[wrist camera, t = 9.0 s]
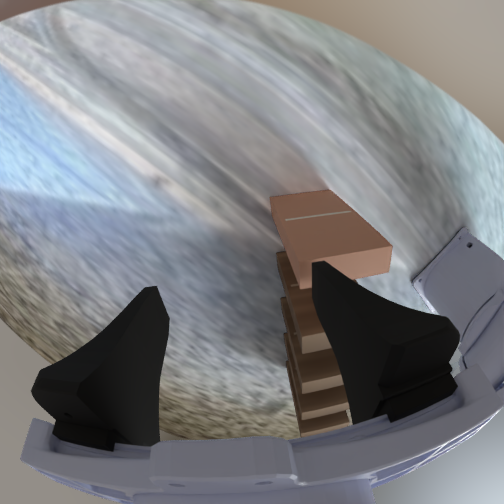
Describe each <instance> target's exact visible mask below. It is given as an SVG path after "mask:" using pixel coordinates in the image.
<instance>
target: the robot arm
mask: <svg viewBox="0 0 504 504" xmlns="http://www.w3.org/2000/svg"><path fill="white" fill-rule="evenodd" d="M412 285H413V286H414V288H415V289H416V290H417V292H418V293H419V295H420V296H421V298H422V299H423V301H424V302H425V303H426V305H427V306H428V308H429V309H430V311H431V312H432V313H433V312H435V311H437V312H438V314H439V315H435V314H430V313H425V312H421V311H418V310H414V309H411V308H408V307H405V306H402V305H399V304H397V303H394V302H392V301H389V300H387V299H385V298H383V297H381V296H379V295H377V294H375V293H373V292H371V291H369V290H367V289H366V288H364V287H362V286H361V285H359V284H358V283H356V282H354V281H353V280H351V279H350V278H348V277H347V276H346V275H344V274H343V273H341V272H340V271H339V270H337V269H336V268H334V267H333V266H332V265H330V264H329V263H327V262H326V261H318V262H312V300H313V303H314V307H315V310H316V313H317V316H318V318H319V321H320V323H321V325H322V327H323V329H324V332H325V334H326V336H327V338H328V340H329V343H330V345H331V347H332V349H333V352H334V354H335V357H336V360H337V363H338V366H339V369H340V373H341V376H342V380H343V384H344V387H345V391H346V395H347V399H348V404H349V408H350V412H351V417H352V423H353V425H351V426H347V427H344V428H340V429H336V430H333V431H329V432H325V433H320V434H316V435H311V436H307V437H302V438H296V439H291V440H285V439H283V438H279V437H272V436H260V437H245V438H234V439H219V440H189V441H188V440H170V441H160V436H159V435H160V434H159V386H160V376H161V371H162V366H163V361H164V356H165V351H166V346H167V341H168V335H169V320H170V318H169V316H168V313H167V311H166V308H165V306H164V303H163V301H162V298H161V296H160V293H159V291H158V288H157V286H152V287H145V288H144V289H143V290H142V291H141V292H140V293H139V294H138V295H137V296H136V297H135V298H134V299H133V300H132V301H131V302H130V303H129V304H128V305H127V306H126V308H125V309H124V310H123V311H122V312H121V313H120V314H119V315H118V316H117V317H116V318H115V319H114V320H113V321H112V322H111V323H110V324H109V325H108V326H107V327H106V328H105V329H104V330H103V331H101V332H100V333H99V334H98V335H97V336H96V337H94V338H93V339H92V340H91V341H89V342H88V343H86V344H85V345H84V346H82V347H81V348H80V349H78V350H77V351H75V352H74V353H72V354H70V355H69V356H67V357H65V358H64V359H62V360H60V361H58V362H56V363H54V364H52V365H50V366H48V367H46V368H43V369H41V370H40V371H39V374H38V376H37V378H36V380H35V383H34V385H33V387H32V390H31V392H32V395H33V397H34V399H35V400H36V401H37V403H38V404H39V405H40V406H41V407H42V408H44V410H46V411H47V412H48V413H49V414H50V415H51V416H52V417H53V418H54V419H56V422H55V425H53V424H51V423H49V422H47V421H43V420H40V419H36V418H33V419H32V422H31V425H30V428H29V431H28V434H27V437H26V441H25V444H24V447H23V451H22V454H21V458H20V459H21V461H22V462H24V463H25V464H27V465H28V466H30V467H31V468H33V469H35V470H36V471H38V472H40V473H41V474H43V475H45V476H47V477H48V478H50V479H52V480H54V481H56V482H58V483H61V484H63V485H66V486H69V487H71V488H74V489H77V490H80V491H82V492H86V493H88V494H91V495H94V496H98V497H101V498H104V499H108V500H111V501H115V502H119V503H122V504H376V502H375V499H374V495H373V492H372V488H375V487H378V486H380V485H382V484H385V483H388V482H390V481H392V480H394V479H397V478H399V477H401V476H403V475H405V474H407V473H409V472H411V471H413V470H415V469H417V468H419V467H421V466H423V465H425V464H427V463H429V462H430V461H432V460H434V459H436V458H438V457H439V456H441V455H443V454H444V453H446V452H448V451H449V450H451V449H453V448H454V447H456V446H457V445H459V444H461V443H462V442H464V441H465V440H467V439H468V438H470V437H471V436H473V435H474V434H475V433H476V432H478V430H480V429H481V428H482V427H483V426H484V425H485V424H486V423H487V422H488V421H489V420H490V419H491V418H493V416H494V415H495V414H496V413H497V412H498V411H499V410H500V409H501V408H502V407H504V383H503V381H504V260H503V259H502V258H501V257H500V256H499V255H498V254H496V253H495V252H494V251H493V250H491V249H490V248H489V247H487V246H486V245H485V244H484V243H482V242H481V241H480V240H478V239H477V238H475V237H474V236H473V235H471V234H470V233H469V232H468V230H467V228H466V227H463V228H462V229H461V230H460V231H459V232H458V234H457V235H456V236H455V237H454V238H453V239H452V240H451V242H450V243H449V244H448V245H447V246H446V247H445V248H444V249H443V250H442V251H441V253H440V254H439V255H438V256H437V257H436V258H435V259H434V260H433V261H432V262H431V263H430V264H429V265H428V266H427V267H426V268H425V269H424V270H423V271H422V272H421V273H420V274H419V275H418V276H417V277H416V278H415V279H414V280H413V282H412ZM459 341H460V342H461V344H460V346H459V347H458V349H459V351H460V352H461V354H462V355H461V357H460V359H459V365H460V373H459V374H457V375H456V376H455V377H454V378H453V377H452V375H451V374H450V372H451V371H452V367H451V365H450V364H449V361H450V359H451V357H452V356H453V354H454V352H455V350H456V348H457V346H458V344H459Z"/></svg>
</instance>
